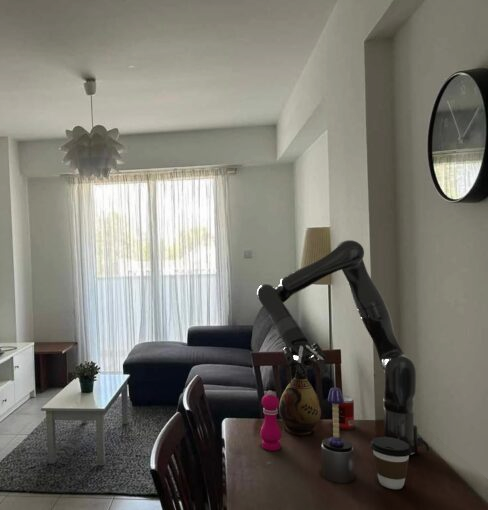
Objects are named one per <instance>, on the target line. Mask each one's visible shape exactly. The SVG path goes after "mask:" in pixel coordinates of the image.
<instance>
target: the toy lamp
mask: <svg viewBox="0 0 488 510" xmlns="http://www.w3.org/2000/svg"><path fill="white" fill-rule="evenodd" d="M343 396H344V395H343V393H342V389H341V388H339V387H330V389H329V393H328V396H327V402H328V403H330V404H332V427H333V428H332V432H333V433H332V435H333V436H331V437H329V438H330V439H329V443H330V444H331V445H335V446H342V445H344V442H343V440H342V439H343V438H341V436H340V429H339V423H338V422H339V418H338V416H339V413H338V411H339V408H338V406H339V404H341V403H344V399H343Z"/></svg>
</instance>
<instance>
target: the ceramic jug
mask: <svg viewBox="0 0 488 510" xmlns="http://www.w3.org/2000/svg"><path fill="white" fill-rule="evenodd" d="M292 355H293V354H292ZM293 357H294V355H293ZM290 360H291V359H290ZM301 363H302V364H303V366H304V367H305V369H306V371H308V370H313V368H314V361H313V360H310V359H302V360H301ZM289 368H290V376H291V380H290V382H289V383H288V384H287V386H286V388H285V389H284V391H283V392H282V395H281V397H280V400H279V406H278V414H279V416H280V418H281V420H282V423H284V425H285V428H286V431H288V433H290V434H292V435H298V436H307V435H311V434H312V432H313V430H314V428H315V427H316V426H317V425H318V424H319V422H320V420H321V416H322V408H321V403H320V400H319V398H318V395H317V393H316V391H315V390H314V387H313V386H312V384H311V382H309V380H308V377H307V375H306V376H302V375H301V374H300V373H299V371H298V369H297V368H296V367H295V366H294V365H292V366H290V365H289Z"/></svg>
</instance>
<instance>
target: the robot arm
mask: <svg viewBox="0 0 488 510" xmlns="http://www.w3.org/2000/svg"><path fill="white" fill-rule="evenodd" d="M364 257H365V249H364V247H363V245H362V244H361V243H359V242H358V241H356V240H352V239H348V240H342V241H340V242H339V243H337V244H336V246H335V248H334V249H333V250H332V251H330V252H329V253H328V254H326V255H325V256H323V257H321V258H320V259H317V260H316V261H314V262H311V263H310V264H308V265H305V266H303V267H301V268H298V269H297V270H295V271H293V272H290V273H289V274H287V275H285V276H284V277H282V278H281V279H280V284H279V285H278V286H276V287H274V286H273V285H271V284H269V283H264V284H261V285H260V286H259V287H258V288H257V291H256V296H257V298H258V300H259V302H260V304H261V305H262V307H263V308H264V309H265V310H266V312H267V314H268V316H269V317H270V320H271V321H272V323H273V325H274V326H275V328H276V331H277V333H278V335H279V337H280V338H281V340H282V342H283V344H284V345H285V347H284V348H283V349H282V354H283V356H284V358H285V360H286V362H287V364H288V365H289V367H290V366H292V365H294V366H295V367H296V368H297V369H298V371H299V373H300V374H301V375H302V376H306V377H307V375H308V370H306V369H305V367H304V366H303V364H302V363H301V360H302V359H304V360H306V359H310V360H311V361H312V362H314V363H316V365H317V366H318V368H319V370H320V371H321V373H322V374H326V373H327V372H328V371H329V368H328V366H327V365H326V363H325V359H326V358H327V355H326V354H325V353H324V351H323V350H322V348H321V347H320V345H319V344H318V343H317V342H314V344H310V343H309V342H308V337H307V335H306V333H305V332H304V330H303V329H302V327H301V325H300V324H299V322H298V321H297V320H296V319H295V317H294V316H293V314H292V312H291V311H290V309H289V308H288V307H287V305H286V304H285V302H286V301H287V300H289V299H290V298H291V297H292V296H293V295H295V294H297V293H299V292H301V291H303V290H305V289H306V288H308V287H310V286H312V285H314V284H315V283H317V282H319V281H320V280H322V279H324V278H326V277H328V276H330V275H332V274H334V273H336V272H339V271H342V273H343V275H344V277H345V278H346V281H347V284H348V286H349V290H350V293H351V296H352V299H353V301H354V304H355V307H356V310H357V312H358V314H359V317H360V320H361V321H362V324H363V325H364V327H365V329H366V331H367V332H368V334H369V336H370V338H371V340H372V342H373V344H374V346H375V349H376V352H377V355H378V358H379V362H380V367H381V369H382V371H383V372H384V375H385V376H384V382H385V383H384V390H383V436H382V437H391V438H395V439H399V440H402V441H404V442H406V443H407V444H409V446H410V448H411V450H412V453H411V454H410V455H409V457H412V456H415V455H416V456H417V455H418V454H419V453H418V447H423V445H424V446H425V451H426V452H430V446H429V444H428V443H427V442H426V441H425V440H424V439H423V437H422V436H421V435H420V434H418V425H416V424H415V396H416V392H417V391H416V390H417V371H416V370H417V369H416V365H415V363H414V362H413V361H412V360H411V358H409V357H408V356H407V355H406V354H405V352H404V351H403V349H402V347H401V345H400V343H399V340H398V339H397V337H396V334H395V330H394V325H393V319H392V317H391V316H392V315H391V313H390V310H389V308H388V306H387V304H386V301H385V299H384V297H383V294H382V293H381V292H380V290H379V288H378V287H377V285H376V284H375V282H374V281H373V279H372V277H371V276H370V274H369V272H368V269H367V267H366V265H365V262H364ZM292 354H293V355H294V357H293V355H292ZM290 359H291V360H290Z"/></svg>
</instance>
